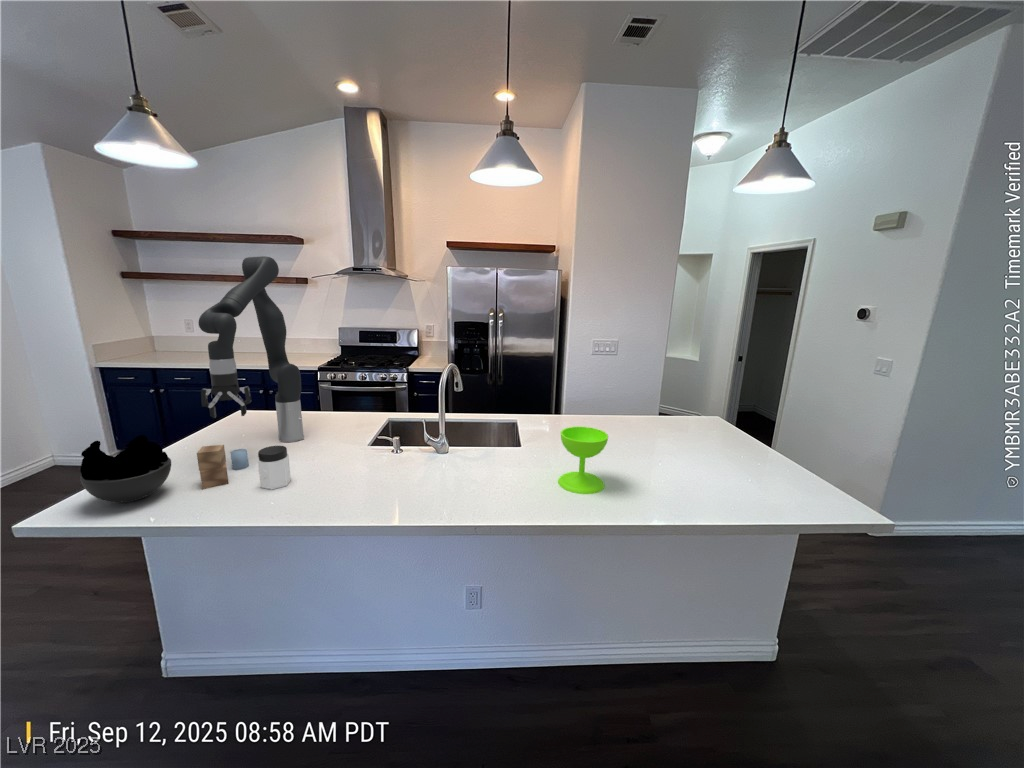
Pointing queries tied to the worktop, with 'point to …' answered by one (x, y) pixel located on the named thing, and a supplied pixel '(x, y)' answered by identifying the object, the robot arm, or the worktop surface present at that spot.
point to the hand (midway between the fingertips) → (228, 416)
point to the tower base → (214, 477)
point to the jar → (274, 467)
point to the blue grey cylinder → (239, 459)
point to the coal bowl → (124, 471)
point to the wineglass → (582, 458)
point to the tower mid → (211, 457)
